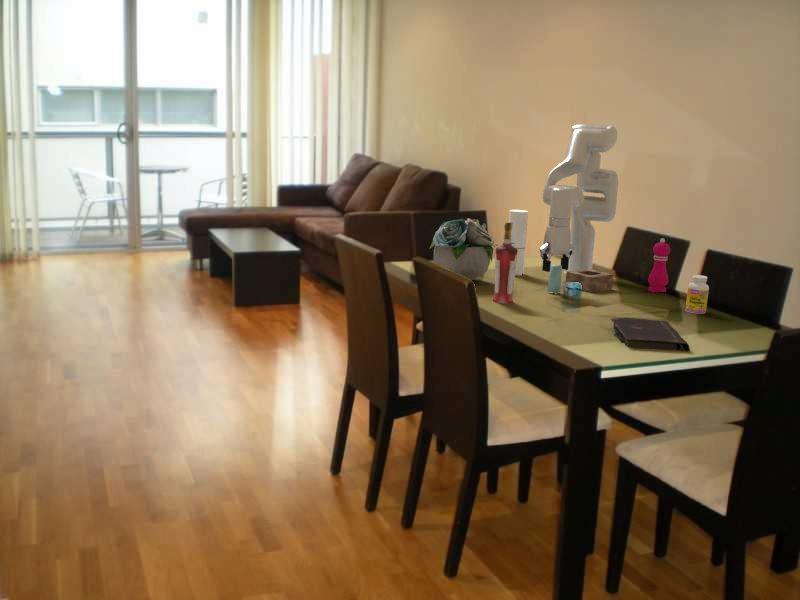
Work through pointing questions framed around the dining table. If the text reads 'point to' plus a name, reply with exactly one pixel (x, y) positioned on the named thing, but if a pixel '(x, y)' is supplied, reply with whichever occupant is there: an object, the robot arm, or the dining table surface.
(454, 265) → the flower arrangement
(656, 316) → the dining table surface
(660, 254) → the pepper mill
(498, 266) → the liquor
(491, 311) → the dining table surface
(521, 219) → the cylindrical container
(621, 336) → the diary
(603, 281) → the socket block
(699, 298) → the supplement bottle
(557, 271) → the peg
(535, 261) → the dining table surface
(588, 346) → the dining table surface
